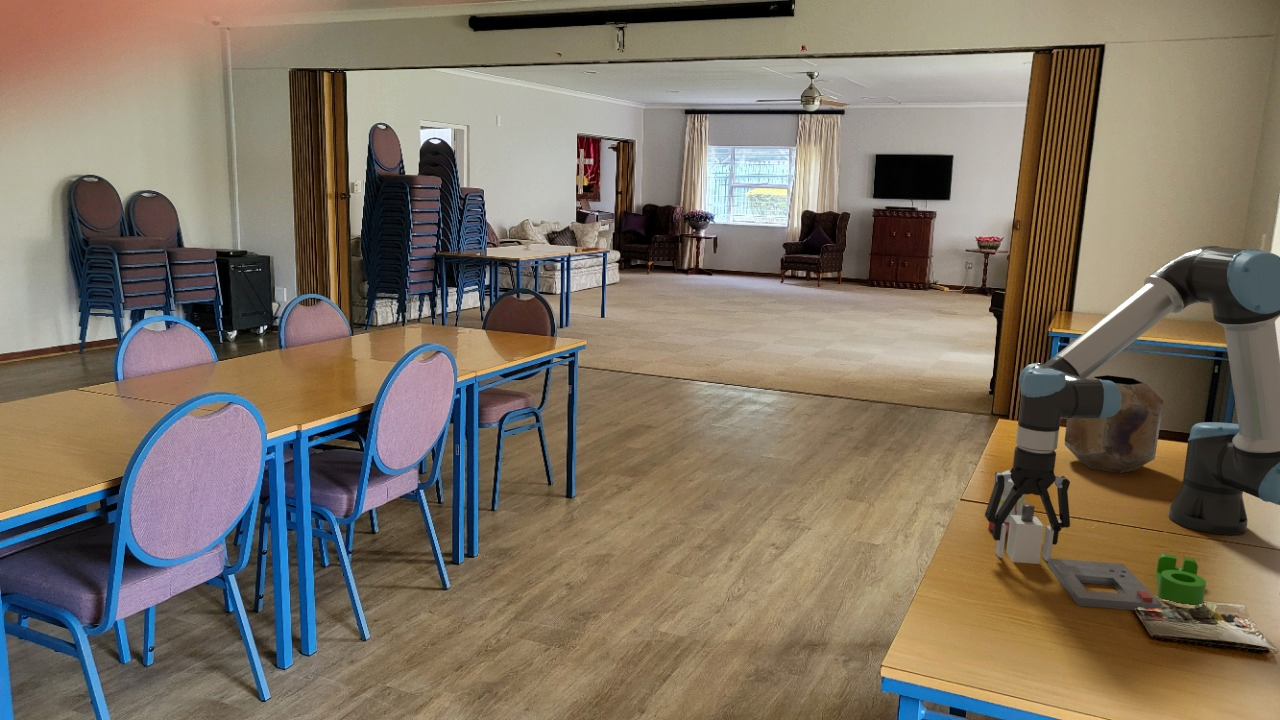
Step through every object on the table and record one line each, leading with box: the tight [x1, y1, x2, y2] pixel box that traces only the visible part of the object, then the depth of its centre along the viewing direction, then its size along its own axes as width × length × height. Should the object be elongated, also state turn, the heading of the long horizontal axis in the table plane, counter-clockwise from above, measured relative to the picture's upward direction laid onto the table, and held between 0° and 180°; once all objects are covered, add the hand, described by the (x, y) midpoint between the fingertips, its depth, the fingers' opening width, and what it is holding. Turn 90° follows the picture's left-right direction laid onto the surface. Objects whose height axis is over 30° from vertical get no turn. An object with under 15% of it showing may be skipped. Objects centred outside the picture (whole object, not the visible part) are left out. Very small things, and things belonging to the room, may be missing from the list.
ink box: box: [987, 469, 1027, 536], centre depth 204 cm, size 9×5×12 cm, turn 139°
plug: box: [1006, 503, 1044, 565], centre depth 187 cm, size 5×5×11 cm
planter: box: [1064, 374, 1164, 474], centre depth 252 cm, size 22×24×24 cm
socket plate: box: [1047, 557, 1163, 611], centre depth 175 cm, size 14×18×2 cm
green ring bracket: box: [1155, 553, 1207, 605], centre depth 174 cm, size 15×7×5 cm, turn 155°
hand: (1022, 556), depth 188 cm, fingers open, 8 cm apart
